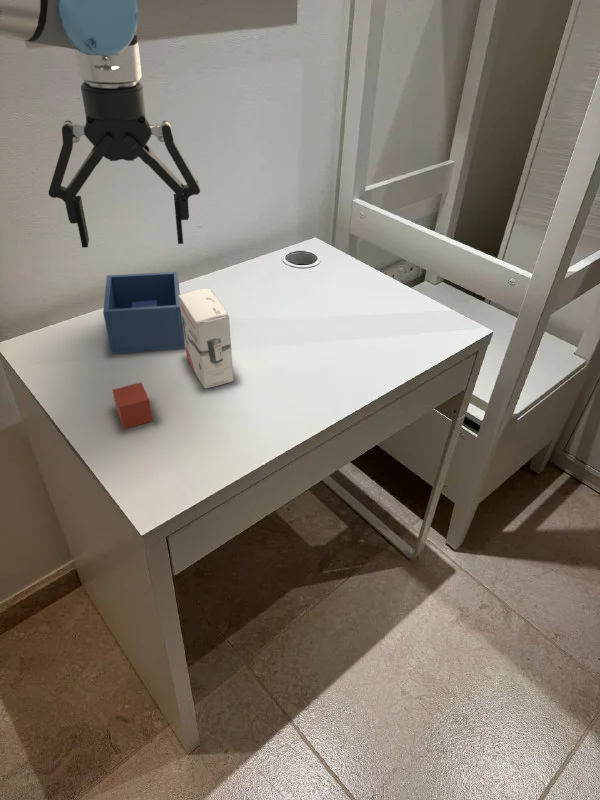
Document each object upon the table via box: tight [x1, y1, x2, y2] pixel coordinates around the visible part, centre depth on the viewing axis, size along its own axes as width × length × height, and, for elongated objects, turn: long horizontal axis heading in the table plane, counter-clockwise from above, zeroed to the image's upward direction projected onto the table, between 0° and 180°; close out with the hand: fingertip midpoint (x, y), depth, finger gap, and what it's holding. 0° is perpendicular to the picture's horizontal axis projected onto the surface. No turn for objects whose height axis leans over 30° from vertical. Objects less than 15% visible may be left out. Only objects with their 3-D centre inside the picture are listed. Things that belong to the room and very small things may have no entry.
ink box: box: [179, 287, 234, 389], centre depth 85 cm, size 9×5×12 cm, turn 27°
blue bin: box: [102, 271, 186, 355], centre depth 94 cm, size 11×11×8 cm
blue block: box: [132, 300, 158, 308], centre depth 94 cm, size 4×4×4 cm
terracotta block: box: [111, 382, 153, 430], centre depth 79 cm, size 4×4×4 cm
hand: (133, 242), depth 86 cm, fingers open, 13 cm apart
